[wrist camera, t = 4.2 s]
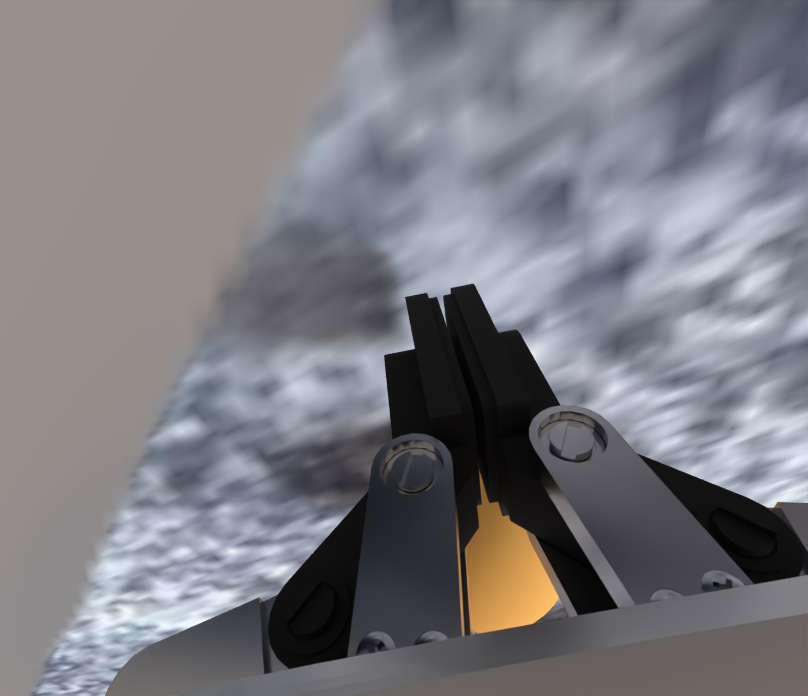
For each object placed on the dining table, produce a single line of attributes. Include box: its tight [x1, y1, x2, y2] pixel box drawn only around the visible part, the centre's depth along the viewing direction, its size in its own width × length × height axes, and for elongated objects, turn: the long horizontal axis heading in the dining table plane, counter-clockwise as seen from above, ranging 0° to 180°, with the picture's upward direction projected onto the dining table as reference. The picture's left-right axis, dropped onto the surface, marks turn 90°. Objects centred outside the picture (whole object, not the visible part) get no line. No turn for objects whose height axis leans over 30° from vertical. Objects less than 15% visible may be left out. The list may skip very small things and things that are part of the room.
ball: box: [466, 471, 559, 633], centre depth 14 cm, size 6×6×6 cm
